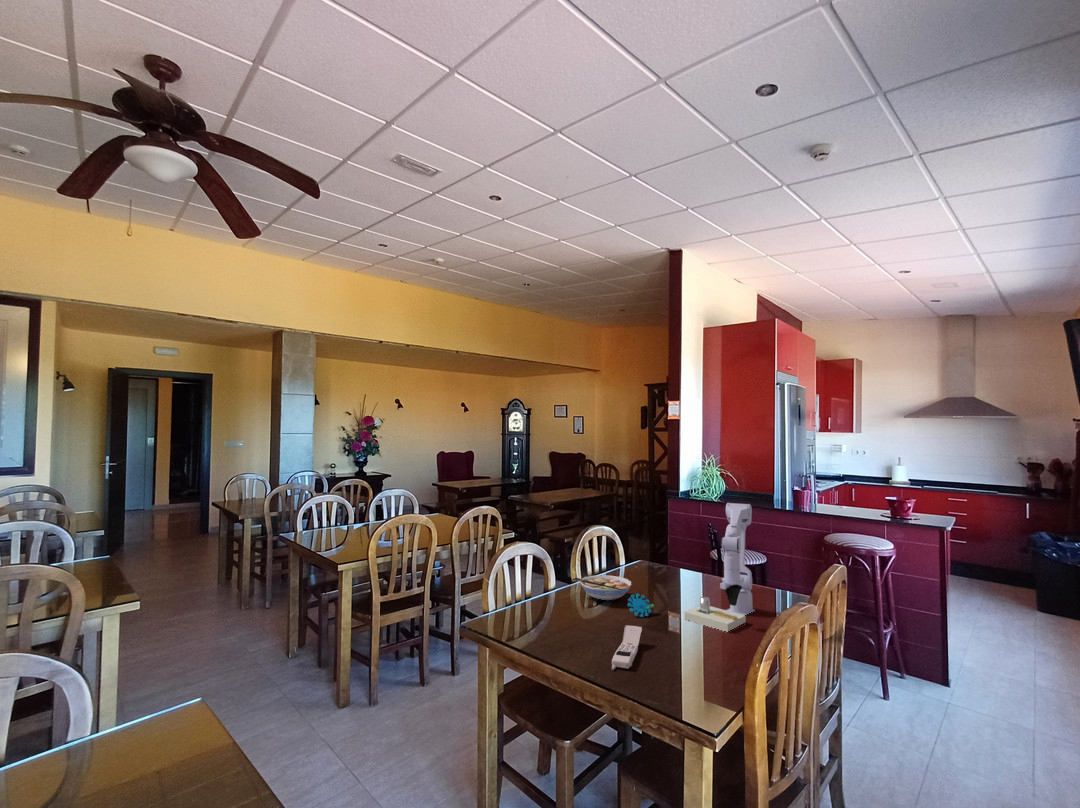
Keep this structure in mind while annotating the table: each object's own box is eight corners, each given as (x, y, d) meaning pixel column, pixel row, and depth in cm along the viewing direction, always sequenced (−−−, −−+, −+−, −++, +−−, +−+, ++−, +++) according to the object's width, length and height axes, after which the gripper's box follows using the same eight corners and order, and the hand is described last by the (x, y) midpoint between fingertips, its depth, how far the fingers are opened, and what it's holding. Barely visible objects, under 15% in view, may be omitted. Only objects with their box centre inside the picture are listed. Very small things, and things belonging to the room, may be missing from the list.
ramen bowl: (643, 598, 228) (643, 580, 229) (615, 611, 211) (615, 591, 212) (597, 587, 245) (597, 570, 245) (567, 598, 228) (567, 579, 228)
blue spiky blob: (630, 615, 202) (626, 591, 210) (625, 622, 206) (622, 598, 213) (656, 617, 204) (652, 594, 211) (651, 624, 208) (647, 601, 215)
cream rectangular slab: (703, 611, 211) (703, 604, 211) (745, 623, 198) (745, 615, 198) (684, 619, 202) (684, 611, 202) (727, 632, 188) (727, 624, 189)
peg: (703, 616, 205) (703, 596, 206) (712, 619, 203) (711, 598, 203) (698, 618, 203) (698, 597, 204) (706, 621, 200) (706, 600, 201)
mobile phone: (642, 626, 179) (628, 653, 155) (642, 644, 178) (628, 674, 155) (625, 624, 181) (608, 651, 157) (625, 641, 180) (609, 671, 157)
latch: (713, 614, 199) (713, 613, 199) (717, 613, 201) (717, 611, 201) (733, 620, 193) (733, 618, 193) (737, 618, 195) (737, 616, 195)
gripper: (731, 563, 203) (732, 598, 203) (712, 569, 194) (713, 606, 193) (748, 566, 198) (749, 602, 197) (730, 573, 189) (730, 611, 188)
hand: (732, 604), depth 195 cm, fingers closed
